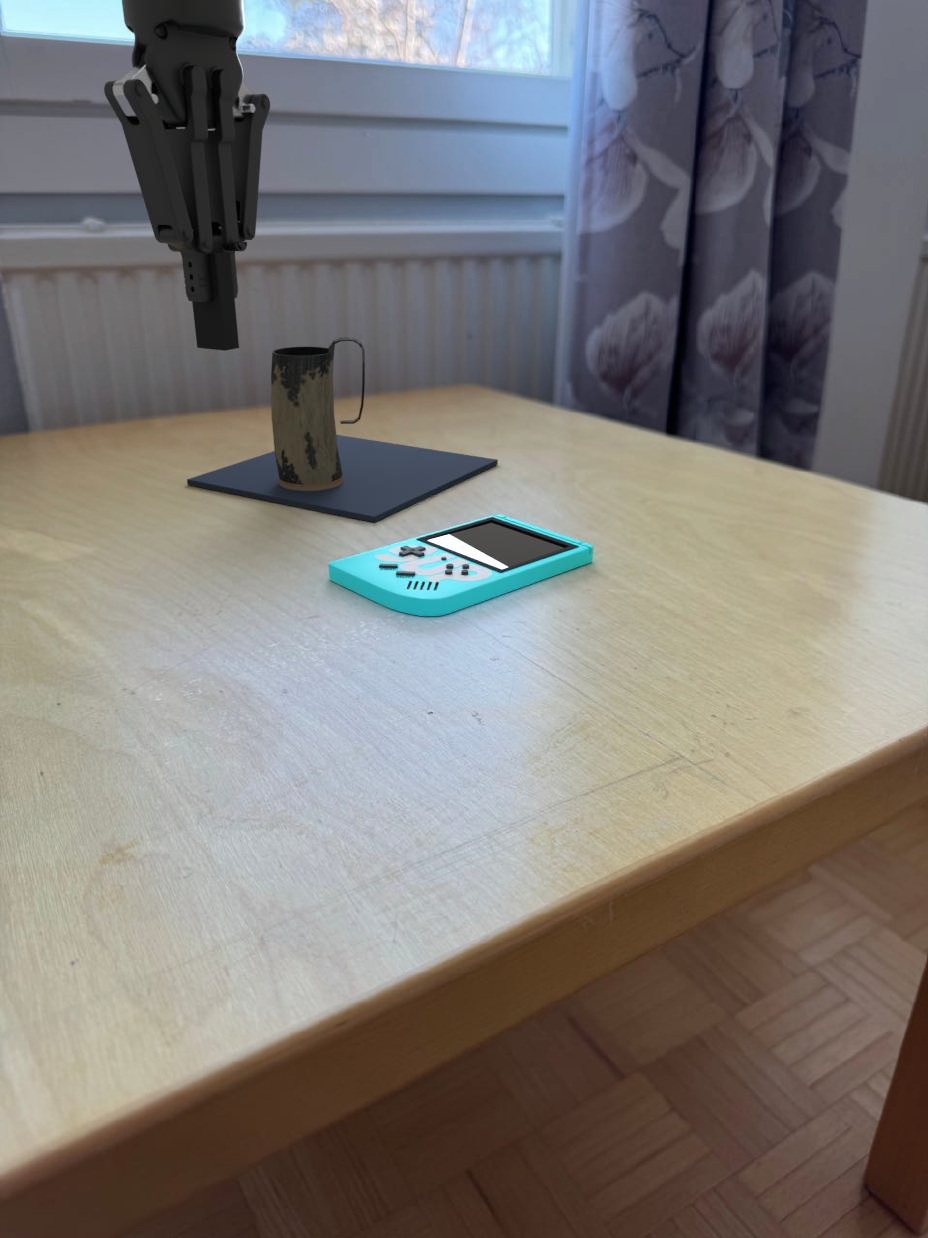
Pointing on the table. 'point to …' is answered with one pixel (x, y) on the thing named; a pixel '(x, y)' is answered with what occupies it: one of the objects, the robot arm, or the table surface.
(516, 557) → the handheld game console
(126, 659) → the table surface
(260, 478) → the mat
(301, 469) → the mug
